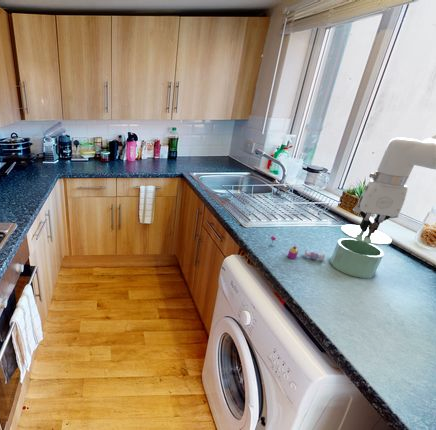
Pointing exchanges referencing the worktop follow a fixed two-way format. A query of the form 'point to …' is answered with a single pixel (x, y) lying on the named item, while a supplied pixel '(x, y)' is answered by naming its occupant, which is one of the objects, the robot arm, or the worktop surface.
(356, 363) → the worktop surface
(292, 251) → the candies
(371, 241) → the lid
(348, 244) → the canister
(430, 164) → the robot arm
